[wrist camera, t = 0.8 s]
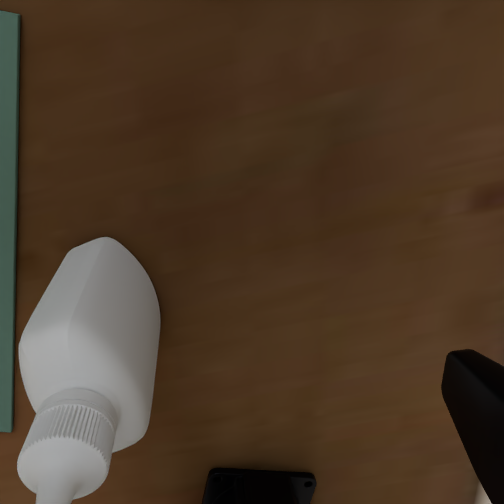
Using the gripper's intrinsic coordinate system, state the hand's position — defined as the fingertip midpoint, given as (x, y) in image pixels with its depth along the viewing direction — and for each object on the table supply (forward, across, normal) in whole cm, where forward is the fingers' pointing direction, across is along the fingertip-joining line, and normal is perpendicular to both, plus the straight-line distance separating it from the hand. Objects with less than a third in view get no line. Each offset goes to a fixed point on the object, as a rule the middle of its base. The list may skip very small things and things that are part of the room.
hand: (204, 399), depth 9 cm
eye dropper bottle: (+14, +4, +6) cm, 16 cm away
